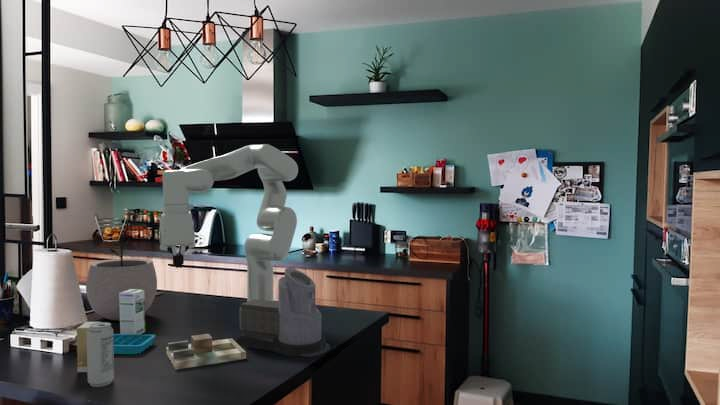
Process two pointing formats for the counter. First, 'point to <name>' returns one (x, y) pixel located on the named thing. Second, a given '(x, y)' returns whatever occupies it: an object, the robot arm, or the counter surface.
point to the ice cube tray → (131, 343)
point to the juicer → (285, 319)
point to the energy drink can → (100, 354)
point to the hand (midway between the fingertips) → (178, 266)
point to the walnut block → (201, 343)
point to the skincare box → (82, 346)
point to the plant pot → (119, 283)
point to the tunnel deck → (186, 358)
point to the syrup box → (132, 311)
